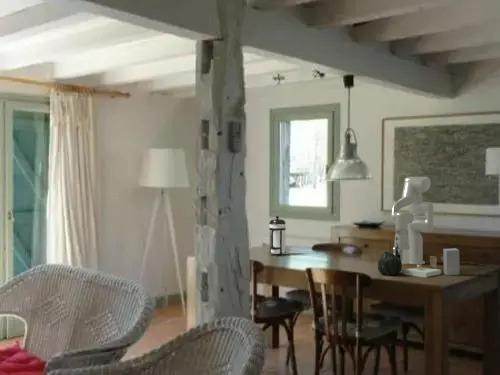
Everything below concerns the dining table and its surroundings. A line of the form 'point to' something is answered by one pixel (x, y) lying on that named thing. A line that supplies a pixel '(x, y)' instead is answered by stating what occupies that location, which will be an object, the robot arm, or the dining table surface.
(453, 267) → the skincare box
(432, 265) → the peg
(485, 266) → the dining table surface
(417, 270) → the peg board
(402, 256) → the block
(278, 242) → the coffee press
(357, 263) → the dining table surface
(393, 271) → the squash
